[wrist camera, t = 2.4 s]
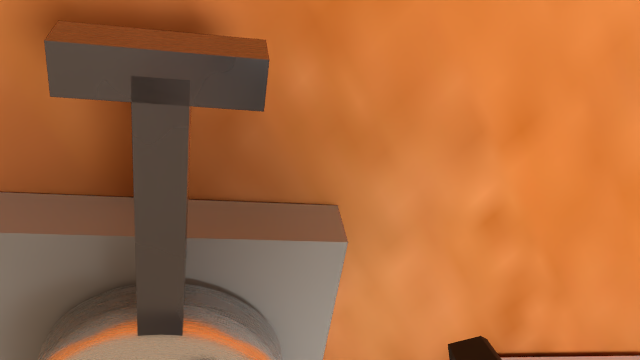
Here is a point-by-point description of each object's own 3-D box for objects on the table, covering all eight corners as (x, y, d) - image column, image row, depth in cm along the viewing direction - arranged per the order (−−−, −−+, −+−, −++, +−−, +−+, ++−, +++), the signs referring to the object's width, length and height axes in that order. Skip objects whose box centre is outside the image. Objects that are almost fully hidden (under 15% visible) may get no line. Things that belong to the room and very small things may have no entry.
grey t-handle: (270, 437, 23) (280, 562, 19) (51, 445, 21) (15, 583, 18) (336, 34, 14) (377, 117, 11) (-20, -1, 13) (-118, 83, 9)
